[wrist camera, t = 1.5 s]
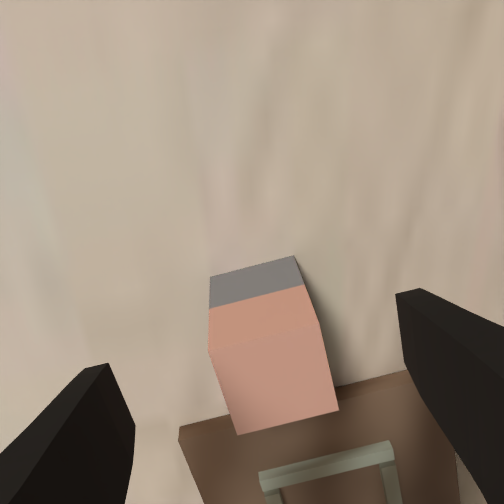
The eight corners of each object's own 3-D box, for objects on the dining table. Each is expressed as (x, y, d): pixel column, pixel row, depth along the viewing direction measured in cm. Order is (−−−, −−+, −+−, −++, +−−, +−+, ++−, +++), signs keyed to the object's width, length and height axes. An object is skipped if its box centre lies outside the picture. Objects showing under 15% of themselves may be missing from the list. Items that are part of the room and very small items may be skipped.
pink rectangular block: (293, 255, 22) (319, 323, 17) (310, 326, 24) (339, 410, 18) (210, 276, 22) (208, 351, 17) (232, 346, 24) (237, 435, 18)
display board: (437, 362, 25) (451, 381, 24) (458, 537, 31) (470, 562, 29) (179, 426, 26) (177, 449, 24) (245, 588, 31) (246, 615, 30)
